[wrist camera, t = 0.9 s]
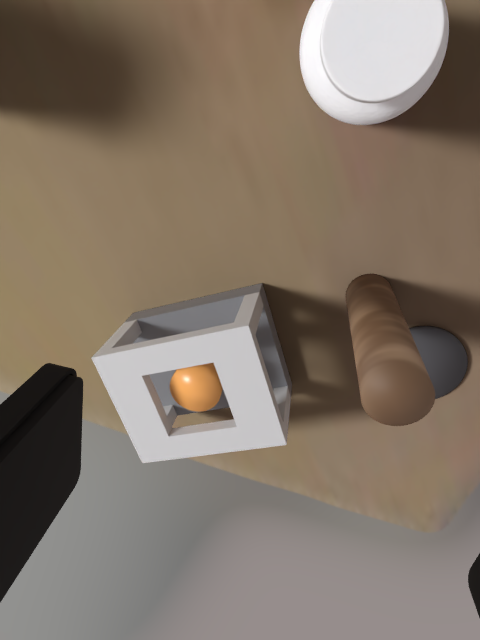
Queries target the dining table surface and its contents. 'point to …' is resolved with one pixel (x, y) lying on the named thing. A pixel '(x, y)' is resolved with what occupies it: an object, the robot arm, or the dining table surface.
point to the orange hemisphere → (196, 387)
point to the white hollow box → (191, 350)
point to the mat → (441, 357)
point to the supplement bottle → (372, 55)
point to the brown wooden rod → (386, 355)
